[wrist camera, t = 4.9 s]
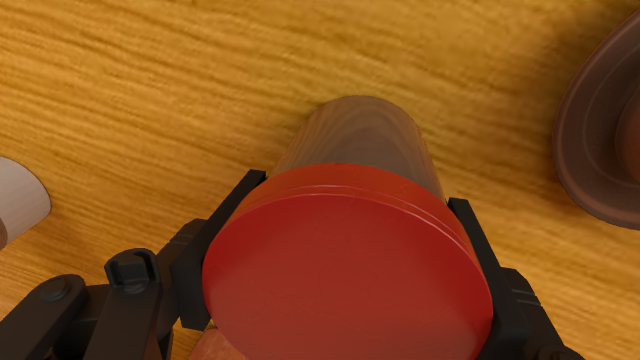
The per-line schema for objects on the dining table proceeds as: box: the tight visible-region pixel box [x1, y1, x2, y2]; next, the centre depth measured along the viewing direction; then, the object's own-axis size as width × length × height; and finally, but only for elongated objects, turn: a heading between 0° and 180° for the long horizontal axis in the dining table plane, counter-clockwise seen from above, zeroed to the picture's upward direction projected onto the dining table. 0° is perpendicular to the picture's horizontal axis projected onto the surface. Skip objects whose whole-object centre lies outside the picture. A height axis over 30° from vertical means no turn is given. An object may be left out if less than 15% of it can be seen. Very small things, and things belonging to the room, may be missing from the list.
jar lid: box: [201, 163, 493, 360], centre depth 10 cm, size 9×8×2 cm
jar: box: [265, 96, 449, 208], centre depth 14 cm, size 8×8×10 cm
